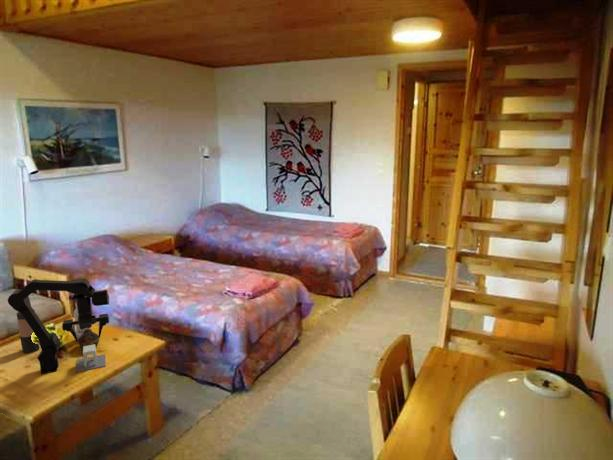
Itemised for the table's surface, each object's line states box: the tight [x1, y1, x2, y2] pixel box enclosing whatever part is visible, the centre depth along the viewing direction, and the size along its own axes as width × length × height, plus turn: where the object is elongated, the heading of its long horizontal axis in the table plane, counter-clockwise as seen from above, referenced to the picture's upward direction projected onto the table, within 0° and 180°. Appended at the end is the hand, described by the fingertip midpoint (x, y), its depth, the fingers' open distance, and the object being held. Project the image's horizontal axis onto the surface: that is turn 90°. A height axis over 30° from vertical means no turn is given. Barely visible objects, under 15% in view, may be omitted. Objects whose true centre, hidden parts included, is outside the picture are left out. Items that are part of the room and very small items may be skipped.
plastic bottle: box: [72, 301, 87, 339], centre depth 227 cm, size 6×7×20 cm
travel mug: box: [16, 308, 41, 354], centre depth 216 cm, size 8×8×20 cm
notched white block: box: [82, 344, 98, 367], centre depth 204 cm, size 7×5×7 cm
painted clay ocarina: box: [77, 328, 100, 350], centre depth 220 cm, size 10×15×8 cm, turn 33°
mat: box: [75, 353, 107, 373], centre depth 205 cm, size 12×12×1 cm
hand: (88, 339), depth 203 cm, fingers open, 9 cm apart
